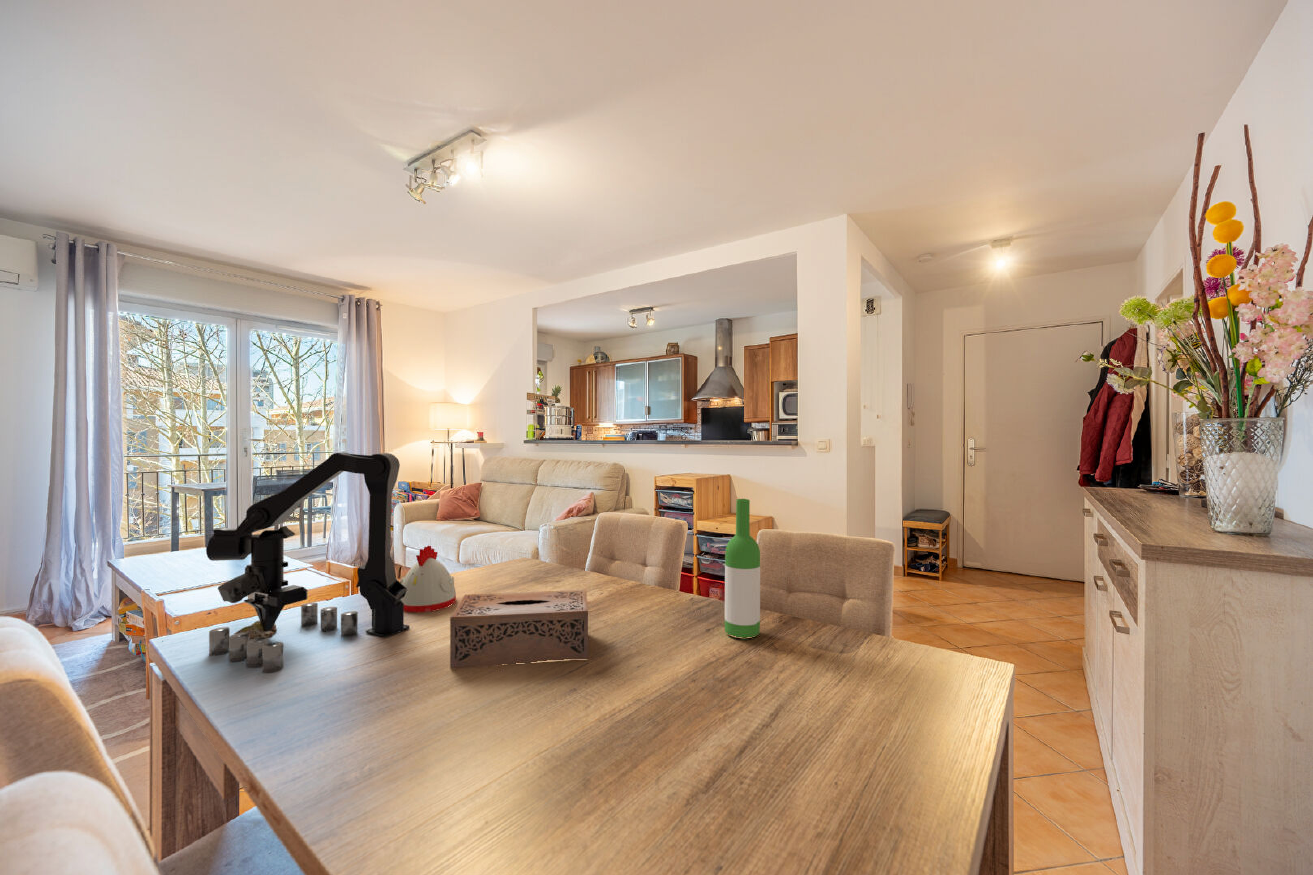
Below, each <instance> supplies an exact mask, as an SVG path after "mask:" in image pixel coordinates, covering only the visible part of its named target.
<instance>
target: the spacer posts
mask: <svg viewBox="0 0 1313 875" xmlns="http://www.w3.org/2000/svg"><path fill="white" fill-rule="evenodd" d="M318 609H319V608H318V603H317V602H307V603H303V604H301V606H300V624H301V625H300V626H301V627H312V626H316V625H318V620H319V619H318V618H319V617H318V615H319V614H318V613H319V612H318ZM358 614H359V613H358V611H356V610H355V611H354V610H350V611H345V612H342V613H341V614H340V636H341V637H343V638H345V637H346V638H347V637H352V636H353V637H354V636H356V635H358V634H359V633H358V630H359V629H358V625H359V624H358V621H359V620H358V619H359V618H358V617H359V616H358ZM337 628H338V607H336V606H327V607H326V606H325V607H323V608H321V609H320V632H331V631H334V630H336V629H337ZM268 640H269V638H256V639H252V640H250V634H249V633H238V634H235V633H234V634H230V627H229V626H222V627H216V628H213V629H210V630H209V632H208V642H209V643H208V647H209V648H208V654H209V656H220V655H223V654H226V653H227V654H228V661H229V663H230V662H231V663H236V661H238V662H243V661H245V660H244V659H246V667H247V668H249V669H254V668H259V667H261V668H262V673H263V674H271V673H276V672H279V671H282V669H284V642H282V641H275V642H268ZM242 660H243V661H242Z"/></svg>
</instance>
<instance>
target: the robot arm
mask: <svg viewBox="0 0 1313 875" xmlns="http://www.w3.org/2000/svg"><path fill="white" fill-rule="evenodd" d="M400 466H401V465H400V461H399V458H397V456H395V455H394V454H392V453H388V452H384V453H383V452H382V453H373V454H371V455H368V454H355V453H349V452H345V451H343V452H341V451H340V452H334V453H332V454H330V455H329V456H328V458H327V459H326V460H324V461H323V462H321V463H320V464H318V465H317V466H316V467H314V468H313V469H312V470H310V471H309V472H308V473H306V474H305V475H303V476H301V477H300V478H299V479H298V480H296V481H295V482H293V483H291V484H290V485H289V486H287V488H284V489H283V490H281V491H279V492H277V493H275V494H273V495H270V496H268V497H266V498H263V499H262V500H259V501H257V502H255V503H253V504H251V505H250V506H249V507H248V508H247V509H246V512H245V513H246V515H245V518H244V519H243V520H242V522H241V523H240V524H239V525H238V526H237V528H227V527H219V528H215V529H213V530H212V534H213V535H211V537H210V538H209V540H208V542H207V546H206V548H205V552H206V556H207V558H208V559H209V560H210V561H212V562H214V561H242V560H245V559H246V558H248V556H250V564H247V565H246V566H245V567H244V573H243V574H241V575H238V576H236V577H233V578H232V579H230V580H228V581H226V582H225V583H222V584H221V585H219V586H218V587H217V590H218V592H219V594H220V596H221V599H222V600H223V602H229V603H230V604H236V603H239V602H240V601H242V600H243V599H244V598H246V597H247V599H244V600H243V602H244V603H246V604H248V605H250V606H251V607H252V608H254V610H255V612H256V614H257V617H258V621H260V622H261V625H262V628H263V630H264V631H265V632H268V631H270V630H271V629H272V627H273V626H274V624H276V621H277V620H278V618H279V616H280V614H281V612H282V610H283V609H284V607H285V606H288V605H291V604H295V603H298V602H304V601H306V600H308V589H307V588H306V587H304V586H300V585H296V584H293V585H289V581H288V580H287V579H284V571H285V570H284V569H285V568H289V561H284V559H285V558H284V547H285V546H284V545H285V544H284V542H285V541H284V539H286V540H287V539H288V538H290V537H291V538H292V537H294V536H295V535H296V534H295V532H294V531H292V530H291V529H290V528H288V527H287V525H284V526H281V527H279V528H278V529H270V528H272V527H275V526H276V527H277V526H279V525H281V524H283V523H285V521H286V520H288V519H289V518H290V516H292V514H293V513H294V512H295V511H296V510H297V508H298V506H299V505H300V504H301V503H302V502H303V501H304V500H306V499H307V498H309V497H310V496H311V495H313V494H315V492H317V491H318V490H320V489H321V488H323V487H324V486H325V485H327V484H329V482H331V481H332V480H334V479H335V478H336V477H338V476H339V475H341V474H342V473H344V472H347V473H351V474H359V475H363V477H364V478H363V479H364V483H365V486H366V488H367V491H368V493H369V512H368V544H367V545H368V550H367V552H368V554H367V560H366V562H365V563H363V564H362V565H361V566H359V567H358V568H357V572H356V573H357V584H356V586H355V587H356V588H359V594H360V596H361V597H363V598H364V599H366V601H367V604H368V606H369V609H370V610H371V628H368V629H365V633H366V634H370V635H374V636H378V637H383V638H387V637H390V636H392V635H394V634H397V633H400V632H402V631H405V630H408V629H410V625H408V624H404V623H405V621H404V618H405V617H404V616H405V614H404V613H405V611H404V603H402V601H401V599H402V598H404V596H405V594H406V591H407V588H406V587H405V586H404V585H402V584H401V583H400V581H399V580H398V579H397V575H396V574H397V573H396V567H395V563H394V560H393V559H392V556H391V534H392V504H393V503H392V497H393V491H394V488H395V485H396V483H397V480H398V475H399V471H400ZM262 530H263V531H262ZM259 531H262V532H261V533H257V534H253V533H255V532H259Z"/></svg>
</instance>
